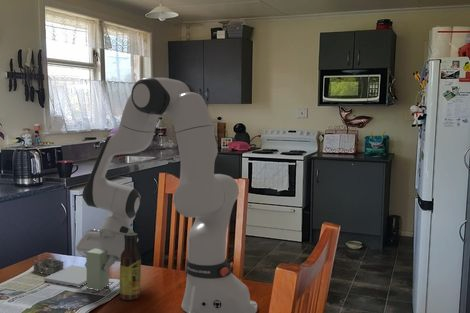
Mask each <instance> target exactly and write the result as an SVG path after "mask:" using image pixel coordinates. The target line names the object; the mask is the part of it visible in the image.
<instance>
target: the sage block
mask: <svg viewBox="0 0 470 313" xmlns="http://www.w3.org/2000/svg"><path fill="white" fill-rule="evenodd" d="M107 251H108V250H103V249H96V248H95V249H92V250H90V251H88V252H86V255H85V259H86V261H85V263H86V270H87V284H86V288H87V287H88V288H93V289H98V290H100V289H102V288H104V287H105V288H107V287H108V286H107V285H109V286H110V268H109V269H108V271H103V270H102V266H103V264H106V263H107V262H108V261H109V255H107ZM106 286H107V287H106ZM105 288H104V289H105ZM98 290H97V291H98ZM102 290H103V289H102ZM100 291H101V290H100Z"/></svg>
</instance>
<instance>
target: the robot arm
mask: <svg viewBox="0 0 470 313" xmlns="http://www.w3.org/2000/svg"><path fill="white" fill-rule="evenodd" d="M130 93H131V94H130V95H129V97H128V98H127V101H126V102H125V105H124V109H123V111H122V113H121V114H122V115H121V118H120V121H119V122H120V123H119V126H118V128H117V129H116V131H115V133H112V134H109V135H108V136H107V137H106V139H105V140H104V142H103V144H102V147H101V149H100V150H99V153H98V156H97V158H96V160H95V162H94V166H93V168H92V171H91V173H90V176H89V177H88V180H87V181H86V183H85V185H84V187H83V190H82V194H81V196H82V199H83V201H84V202H85V205H87V206H88V207H93V208H96V209H102V210H105V211H107V212H109V213H108V215H107V216H106V217H105V219H104V221H103V223H102V225H101V227H100V229H94V228H91V229H89V230H87V231H85V232H84V234H83V235H82V237H81V238H80V240H79V241H78V243H77V245H76V247H75V248H76V249H75V250H76V252H78V253H79V255H83V256H86V252H88V251H90V250H92V249H95V248H96V249H103V250H108V251H107V255H109V261H108V262H107V263H106V264H103V266H102V270H103V271H108V269H109V270H110V267H112V266H113V265H114V264H115V263H116V261H120V262H121V254H122V252H123V251H124V249H125V247H124V246H125V239H124V234H125V233H135V232H134V230H133V229H131V224H132V222H133V221H134V220H135V218H136V215H137V214H138V211H139V209H140V206H141V202H142V201H141V200H142V199H141V198H142V197H141V195H140V193H139V192H138V190H137V189H136V188H134V187H132V186H128V185H126V184H122V183H119V182H114V181H111V180H108V179H107V178H106V175H107V172H108V170H109V167H110V165H111V163H112V159H113V158H114V157H115V156H117V155H118V156H119V155H129V154H130V155H131V154H136V153H141V152H142V151H144V150H146V149H147V148H149V146H150V145H151V144H152V142H153V138H154V136H155V135H154V134H155V131H156V126H157V122H158V118H159V117H160V116H162V115H163V116H169V117H170V118H171V120H172V123H173V126H174V133H175V138H176V141H177V142H176V143H177V147H178V153H179V159H180V171H179V182H178V185H177V187H176V189H175V190H174V194H173V204H174V205H173V206H174V207H175V209H176V211H177V212H178V213H179V214H180V215H181V216H183V217H186V218H194V222H193V224H192V226H191V228H190V230H189V232H188V234H187V235H188V236H187V238H188V239H187V258H186V262H185V264H186V265H185V277H186V284H185V289H184V294H183V299H182V303H181V304H180V306H181V309H182V310H183V311H184V312H185V313H257V312H258V303H257V302H256V301H255V300H251V294H250V291H249V287H248V286H247V285H246V284H245V283H243V282H242V281H241V280H240V279H239V278H238V277H237V276H235V275H234V274H233V272H232V267H233V263H234V262H233V261H232V262H228V260H227V258H226V248H227V247H226V246H227V244H226V243H227V232H228V227H229V224H230V219H231V215H232V212H233V208H234V205H235V202H236V201H237V199H238V197H239V191H240V189H239V185H238V183H237V181H236V180H235V179H234V178H233V177H232V176H230V175H227V174H223V173H215V163H216V162H215V161H216V159H217V156H218V153H219V150H218V145H217V141H216V137H215V136H216V135H215V130H214V127H213V122H212V118H211V114H210V112H209V109H208V107H207V106H208V105H207V104H206V102H205V99H204V97H203V96H202V95H201V94H199V93H196V90H195V87H193V85H192V84H191V83H189V82H187V81H184V80H181V79H173V78H168V77H151V76H150V77H143V78H141V79H139V80H137V81H136V82H135V83H134V85H133V86H132V88H131V92H130ZM138 242H139V238H138V239H137V243H138ZM84 267H86V262H85V264H84Z"/></svg>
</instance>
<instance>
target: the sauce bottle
mask: <svg viewBox="0 0 470 313" xmlns="http://www.w3.org/2000/svg"><path fill="white" fill-rule="evenodd" d="M124 239H125V246H124V247H125V249H124V251H123V252H122V254H121V261H120V263H119V298H120V299H121V300H123V301H133V300H136V299H137V300H138V299H139V297H140V293H141V276H142V274H141V268H142V258H141V255H140V252H139V250H138V242H137V239H138V240H139V233H136V232H134V233H125V234H124Z"/></svg>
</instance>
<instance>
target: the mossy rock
mask: <svg viewBox="0 0 470 313" xmlns="http://www.w3.org/2000/svg"><path fill="white" fill-rule="evenodd" d="M31 261H32V262H34V263H33V271H34V270H39V271H38V272H45V273H44V275H45V274H54V272H55V273H56V272H58V271H60V270H63V269H64V263H65V261H61V260H60V259H55V258H54V257H49V258H44V259H41V260H40V261H39V262H38V260H36V259H33V258H32V259H31Z"/></svg>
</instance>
